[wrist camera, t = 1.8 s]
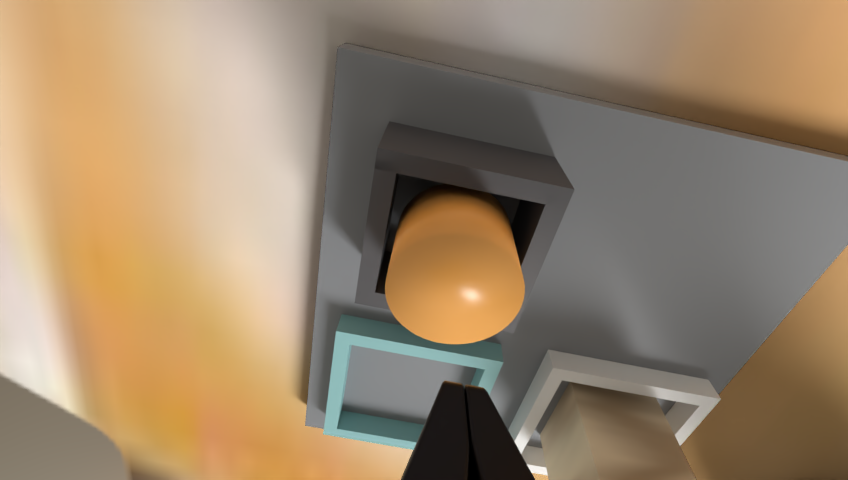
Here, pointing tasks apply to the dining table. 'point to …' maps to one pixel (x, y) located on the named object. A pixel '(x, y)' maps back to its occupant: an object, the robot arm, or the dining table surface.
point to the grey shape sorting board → (559, 248)
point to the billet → (611, 438)
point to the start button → (454, 266)
